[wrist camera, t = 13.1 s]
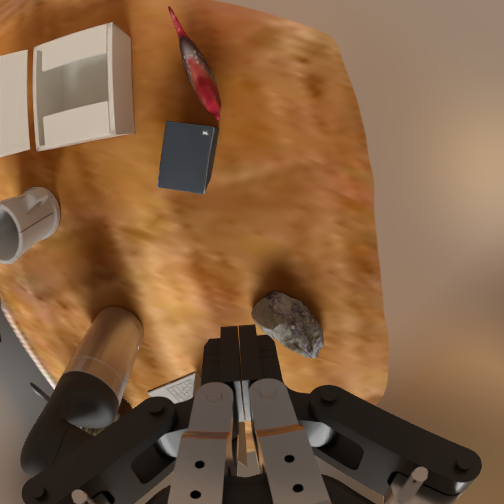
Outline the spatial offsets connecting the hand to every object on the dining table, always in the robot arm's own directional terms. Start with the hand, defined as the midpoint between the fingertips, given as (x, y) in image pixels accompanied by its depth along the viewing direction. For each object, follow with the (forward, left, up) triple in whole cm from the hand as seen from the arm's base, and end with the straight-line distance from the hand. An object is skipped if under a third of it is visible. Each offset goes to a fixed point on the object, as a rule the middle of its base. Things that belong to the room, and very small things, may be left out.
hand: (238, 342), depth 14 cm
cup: (-27, +17, -35) cm, 47 cm away
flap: (-13, +28, -26) cm, 40 cm away
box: (-1, +8, -35) cm, 36 cm away
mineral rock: (-4, -23, -35) cm, 42 cm away
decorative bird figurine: (+6, +18, -35) cm, 40 cm away
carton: (-8, +25, -35) cm, 44 cm away
